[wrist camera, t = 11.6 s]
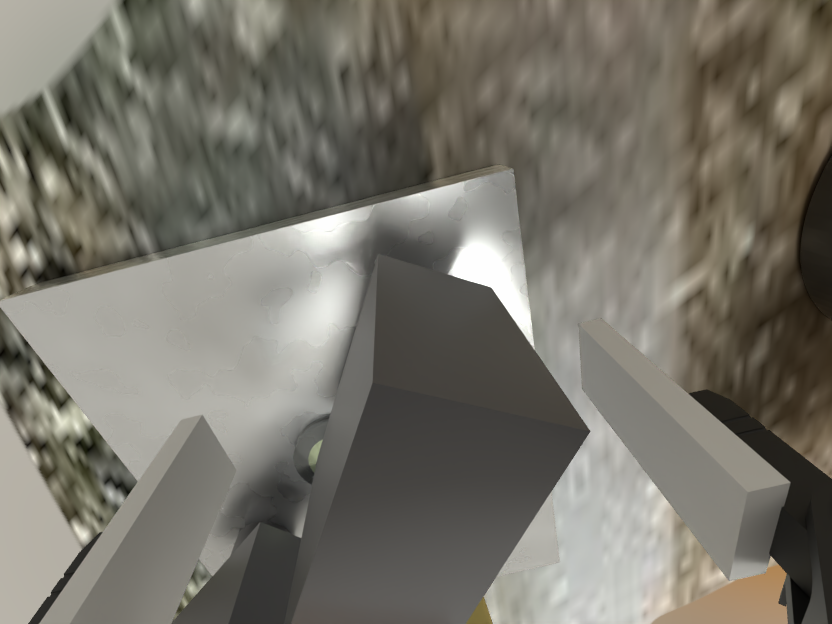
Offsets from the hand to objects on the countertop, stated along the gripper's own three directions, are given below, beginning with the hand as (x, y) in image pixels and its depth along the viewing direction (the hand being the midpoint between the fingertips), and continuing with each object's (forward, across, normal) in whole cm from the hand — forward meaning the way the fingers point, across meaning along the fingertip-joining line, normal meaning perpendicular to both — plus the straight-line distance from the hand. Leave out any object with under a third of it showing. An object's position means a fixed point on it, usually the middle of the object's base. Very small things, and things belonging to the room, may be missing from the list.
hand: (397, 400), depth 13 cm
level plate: (+6, -4, -6) cm, 9 cm away
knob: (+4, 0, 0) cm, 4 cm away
